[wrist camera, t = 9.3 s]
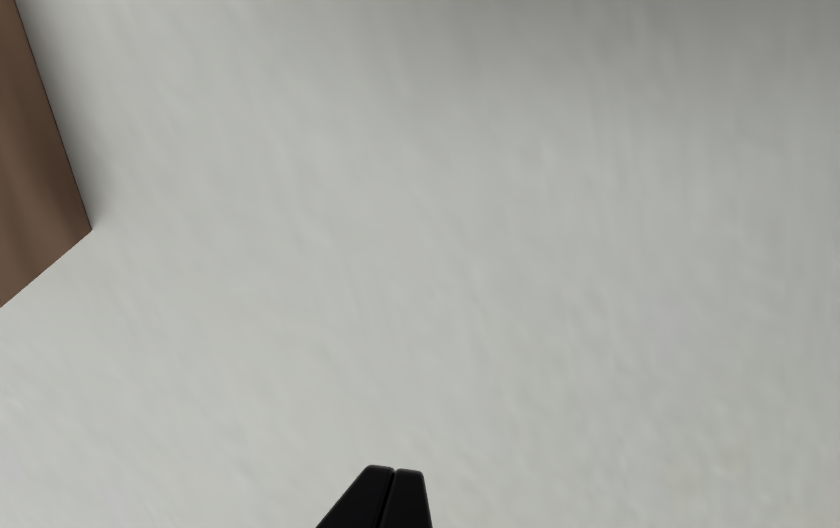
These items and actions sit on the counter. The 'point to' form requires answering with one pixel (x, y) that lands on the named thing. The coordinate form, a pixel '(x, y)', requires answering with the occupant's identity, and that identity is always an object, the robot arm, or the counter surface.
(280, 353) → the counter surface
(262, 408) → the counter surface
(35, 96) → the case
